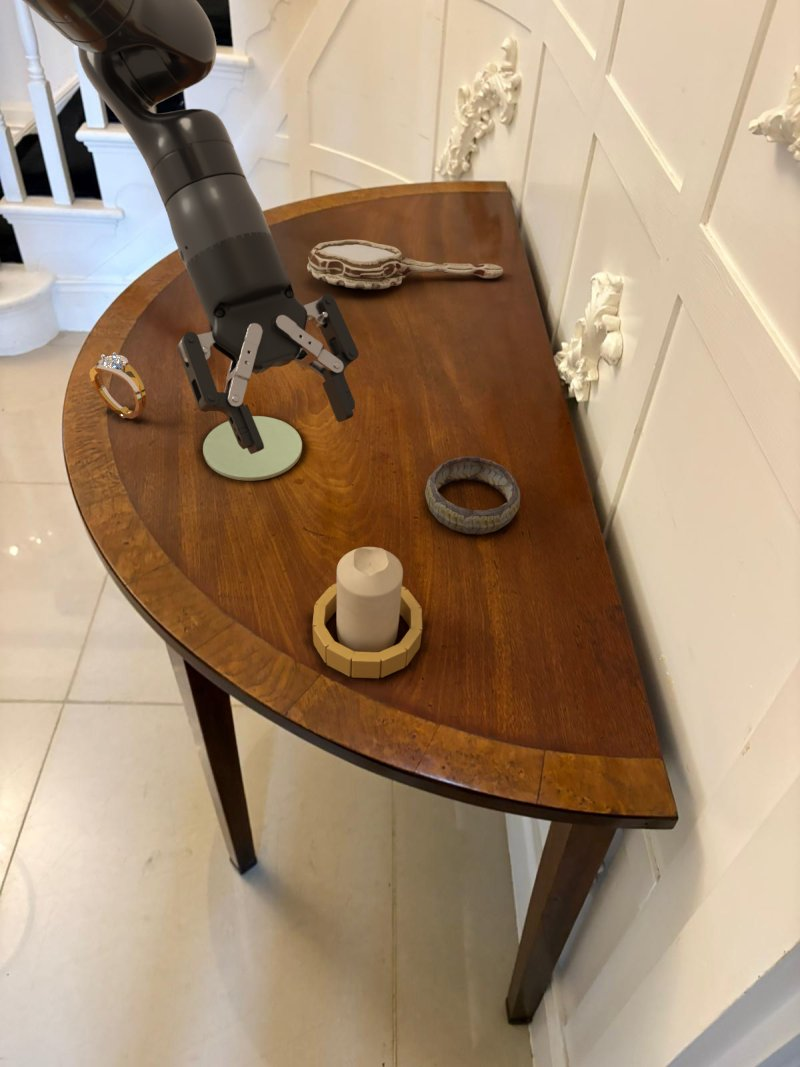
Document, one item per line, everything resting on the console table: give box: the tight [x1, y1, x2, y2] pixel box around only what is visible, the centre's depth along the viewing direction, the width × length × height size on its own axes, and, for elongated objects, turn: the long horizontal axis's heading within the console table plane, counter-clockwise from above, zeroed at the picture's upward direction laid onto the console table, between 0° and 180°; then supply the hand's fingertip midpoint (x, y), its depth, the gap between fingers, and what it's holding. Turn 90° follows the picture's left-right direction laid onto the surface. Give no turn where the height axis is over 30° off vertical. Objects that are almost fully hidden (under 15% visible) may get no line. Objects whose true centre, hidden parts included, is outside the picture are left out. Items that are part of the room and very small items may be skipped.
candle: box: [336, 546, 404, 652], centre depth 68 cm, size 6×6×10 cm
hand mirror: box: [306, 239, 504, 290], centre depth 117 cm, size 11×6×30 cm
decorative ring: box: [424, 456, 521, 535], centre depth 83 cm, size 10×3×10 cm
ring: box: [88, 351, 147, 420], centre depth 89 cm, size 7×3×8 cm, turn 57°
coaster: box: [202, 415, 303, 482], centre depth 89 cm, size 11×11×1 cm
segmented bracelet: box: [312, 582, 423, 679], centre depth 70 cm, size 10×10×2 cm
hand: (303, 434), depth 66 cm, fingers open, 8 cm apart
